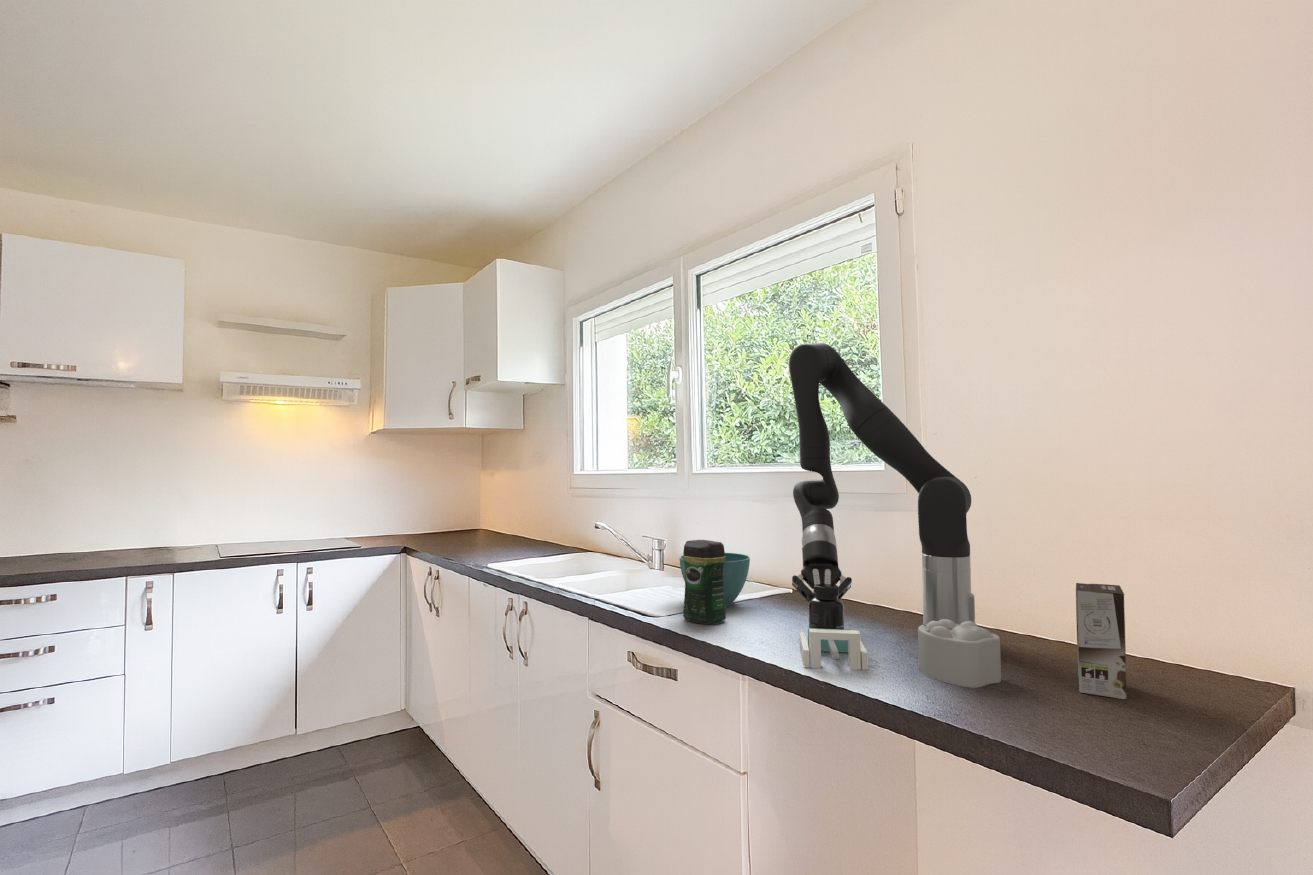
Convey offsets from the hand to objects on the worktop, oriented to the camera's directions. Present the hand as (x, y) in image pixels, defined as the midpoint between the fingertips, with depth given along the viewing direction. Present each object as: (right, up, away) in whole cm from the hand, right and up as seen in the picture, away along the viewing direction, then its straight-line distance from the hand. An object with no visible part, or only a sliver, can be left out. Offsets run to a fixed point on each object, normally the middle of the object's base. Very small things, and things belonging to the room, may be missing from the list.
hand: (824, 617), depth 137 cm
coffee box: (+37, -4, -29) cm, 48 cm away
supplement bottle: (-1, -5, -4) cm, 6 cm away
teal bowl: (-19, -7, +37) cm, 42 cm away
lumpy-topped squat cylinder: (+17, -4, -22) cm, 28 cm away
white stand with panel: (-2, -4, -12) cm, 13 cm away
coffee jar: (-23, -6, +19) cm, 30 cm away
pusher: (-2, -4, -13) cm, 14 cm away
